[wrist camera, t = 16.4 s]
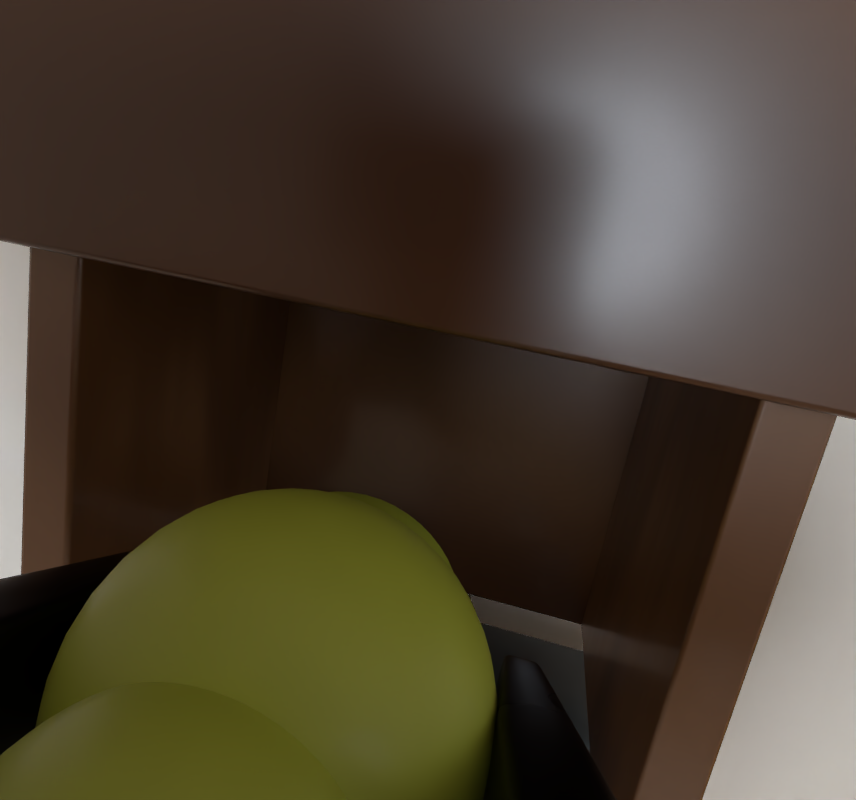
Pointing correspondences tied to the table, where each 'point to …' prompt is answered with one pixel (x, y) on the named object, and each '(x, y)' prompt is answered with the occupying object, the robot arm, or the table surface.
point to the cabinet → (466, 169)
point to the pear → (269, 665)
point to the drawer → (437, 480)
